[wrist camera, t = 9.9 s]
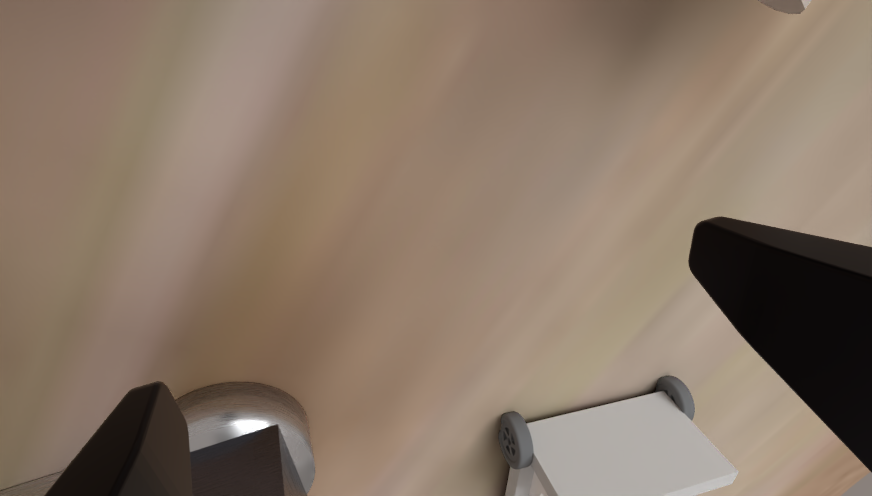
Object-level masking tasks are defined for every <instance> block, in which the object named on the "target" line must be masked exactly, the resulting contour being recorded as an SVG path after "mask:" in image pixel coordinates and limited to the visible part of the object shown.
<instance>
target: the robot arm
mask: <svg viewBox="0 0 872 496" xmlns="http://www.w3.org/2000/svg"><path fill="white" fill-rule="evenodd" d="M688 262H689V267H690V270H691V272H692V274H693V275H694V276H695V278H696V279H697V280H698V281H699V283H700V284H701V285H702V287H703V288H704V289H705V290H706V292H707V293H708V294H709V295H710V297H711V298H712V299H713V301H714V302H715V303H716V304H717V306H718V307H719V308H720V309H721V311H722V312H723V313H724V314H725V316H726V317H727V318H728V320H729V321H730V322H731V323H732V325H733V326H734V327H735V328H736V330H737V331H738V332H739V333H740V334H741V336H742V337H743V338H744V339H745V340H746V341H747V342H748V343H749V345H750V346H751V347H752V348H753V349H754V350H755V351H756V352H757V353H758V354H759V355H760V356H761V357H762V358H763V359H764V360H765V361H766V363H767V364H768V365H769V366H770V367H771V368H772V369H773V370H774V371H775V372H776V373H777V374H778V375H779V376H780V377H781V378H782V379H783V380H784V381H785V382H786V383H787V384H788V386H789V387H790V388H791V389H792V390H793V391H794V392H795V393H796V394H797V395H798V396H799V397H800V398H801V399H802V400H803V401H804V402H805V403H806V404H807V405H808V406H809V407H810V409H811V410H812V411H813V412H814V413H815V414H816V415H817V416H818V417H819V418H820V419H821V420H822V421H823V422H824V423H825V424H826V425H827V426H828V427H829V428H830V429H831V430H832V432H833V433H834V434H835V435H836V436H837V437H838V438H839V439H840V440H841V441H842V442H843V443H844V444H845V445H846V446H847V447H848V448H849V449H850V450H851V451H852V452H853V453H854V455H855V456H856V457H857V458H858V459H859V460H860V461H861V462H862V463H863V464H864V465H865V466H866V467H867V468H868V469H869V470H870V471H871V472H872V247H868V246H863V245H858V244H854V243H849V242H844V241H839V240H834V239H829V238H824V237H819V236H815V235H810V234H805V233H800V232H795V231H790V230H785V229H780V228H776V227H771V226H766V225H761V224H756V223H751V222H746V221H741V220H736V219H732V218H727V217H714V218H711V219H707V220H704V221H701V222H699V223H698V224H697V225H696V227H695V229H694V233H693V238H692V243H691V249H690V254H689V260H688ZM44 496H193V494H192V478H191V462H190V447H189V432H188V427H187V423H186V420H185V418H184V416H183V414H182V412H181V410H180V408H179V407H178V405H177V403H176V401H175V399H174V398H173V396H172V394H171V392H170V390H169V389H168V387H167V386H166V385H165V384H164V383H163V382H159V381H157V382H153V383H150V384H146V385H143V386H140V387H136V388H134V389H132V390H130V391H129V392H128V393H127V394H126V395H125V397H124V398H123V399H122V400H121V402H120V403H119V404H118V405H117V406H116V408H115V409H114V410H113V411H112V413H111V414H110V415H109V416H108V418H107V419H106V420H105V421H104V422H103V424H102V425H101V426H100V427H99V429H98V430H97V431H96V432H95V434H94V435H93V436H92V437H91V438H90V440H89V441H88V442H87V443H86V445H85V446H84V447H83V448H82V450H81V451H80V452H79V453H78V454H77V456H76V457H75V458H74V459H73V461H72V462H71V463H70V464H69V466H68V467H67V468H66V469H65V470H64V472H63V473H62V474H61V475H60V477H59V478H58V479H57V480H56V482H55V483H54V484H53V485H52V486H51V488H50V489H49V490H48V491H47V493H46V494H45V495H44Z"/></svg>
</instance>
